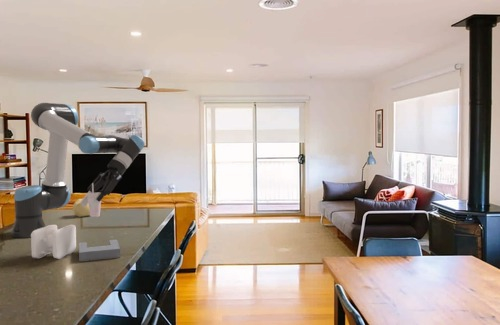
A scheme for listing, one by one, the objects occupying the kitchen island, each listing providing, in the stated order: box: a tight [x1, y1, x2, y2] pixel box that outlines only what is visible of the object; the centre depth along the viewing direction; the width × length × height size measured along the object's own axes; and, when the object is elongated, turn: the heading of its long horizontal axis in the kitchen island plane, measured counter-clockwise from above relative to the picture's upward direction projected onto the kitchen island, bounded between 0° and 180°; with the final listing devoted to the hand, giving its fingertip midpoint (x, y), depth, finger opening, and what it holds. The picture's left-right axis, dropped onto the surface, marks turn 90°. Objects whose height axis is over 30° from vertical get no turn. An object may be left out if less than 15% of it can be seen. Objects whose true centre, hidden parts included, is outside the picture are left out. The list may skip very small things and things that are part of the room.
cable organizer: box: [30, 224, 77, 260], centre depth 167 cm, size 15×11×12 cm
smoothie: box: [85, 183, 102, 218], centre depth 176 cm, size 6×6×14 cm
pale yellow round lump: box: [72, 198, 90, 218], centre depth 252 cm, size 12×12×11 cm
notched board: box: [78, 239, 121, 262], centre depth 170 cm, size 16×15×4 cm
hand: (86, 205), depth 173 cm, fingers closed on smoothie, 6 cm apart
